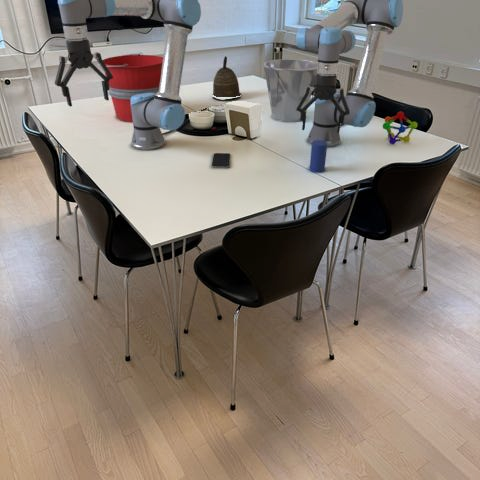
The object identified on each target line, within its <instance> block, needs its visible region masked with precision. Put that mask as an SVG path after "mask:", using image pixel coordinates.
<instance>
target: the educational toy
mask: <svg viewBox="0 0 480 480" xmlns="http://www.w3.org/2000/svg"><path fill="white" fill-rule="evenodd" d="M397 119H399V124H400V125H399V127H398V126H393V125H391V124H392V123H394V122H395V121H396V120H397ZM403 120H404V121H405V122H407V123H408V124H409V125H407V126H404V123H403ZM417 127H418V122H417V121H411V120H410V119H409V118H408V117H406V116H405V113H404V112H403V111H401V110H400V111H398V112H397V114H396V115H394V116H391V117H390V116H386V117H385V118H384V122H383V123H382V129H383V130H386V132H387V138H388V142H389V145H395V144H396V143H397V142H402V141H403V142H404V143H409V142H410V140H411V138H410V136H411V134H412V132H413V131H414V130H415V129H417ZM392 129H393V130H397V131H398V132H396V134H395V133H394V132H392ZM408 129H409V131H408V133H407V134H406V135H404V136H401V134H403V133H405V132H406V130H408ZM399 135H400V136H399Z"/></svg>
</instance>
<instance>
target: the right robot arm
mask: <svg viewBox="0 0 480 480" xmlns="http://www.w3.org/2000/svg"><path fill="white" fill-rule="evenodd" d="M403 17H404V3H403V0H346V1H344V2H343V3H341V4H340V5H339V7H338V8H337V10H334V12H332V13H330V14H329V15H327V16H326V17H325V18H323V19H322V20H320V21H319V22H317V23H315V24H314V25H313V26H311V27H301V28H299V29H298V30H297V31H296V34H295V44H296V47H297V48H298V49H302V50H305V51H307V50H308V51H315V52H318V55H317V62H316V63H317V73H318V74H317V75H316V84H315V85H314V88H313V87H310V86H308V87H307V89H306V93H305V95H304V97H303V98H302V100H301V102H300V103H299V105H298V107H297V109H296V110H297V111H299V112H300V113H301V116H300V122H302V126H301V127H302V128H301V131H305V129H306V119H307V112H305V111H306V110H307V111H308V109H309V108H310V107H311V106H312V105H313V104H314V110H313V111H314V112H313V122H312V126H311V129H310V131H309V133H308V136H307V142H308V143H309V144H310V145H312V142H313V141H316V140H321V141H325V142H327V148H331V147H332V148H333V147H336V146H339V145H340V144H341V135H340V129H341V127H342V126H345V125H346V126H351V127H354V128H365V127H367V126H368V125H369V124H370V123H371V121H372V119H373V117H374V115H375V112H376V108H377V107H376V105H377V103H376V102H375V101H374V98H375V97H374V95H373V94H372V92H373V90H374V85H375V83H376V78H377V76H378V72H379V68H380V66H381V62H382V58H383V55H384V53H385V52H384V51H385V47H386V45H387V41H388V38H389V36H390V35H392V34H393V33H394V30H395V28H399V27H400V26H401V24H402V20H403ZM354 25H365V29H366V31H367V34H366V38H365V41H364V45H363V48H362V52H361V55H360V58H359V59H360V60H359V63H358V66H357V70H356V73H355V77H354V81H353V84H352V88H351V89H350V90H349V91H347V94H346V96H345V89H344V87H341V88H337V78H338V76H337V74H338V69H339V62H340V61H339V60H340V55H343V54H346V53H348V52H350V51H351V50H353V49H354V48H355V46H356V43H357V39H356V35H355V33H354V32H353V31H352V30H349V29H348V30H346V29H345V28H346V27H351V26H354ZM311 92H312V93H313V94H314V93H315V94H314V96H313V98H312V97H311V98H312V99H311V98H310V99H311V100H310V101H309V102H308V103H307V104H306V105H305V106H304V107H303V108H301V106H302V105H303V103H304V101H305V100H306V98H307V96H308V94H309V93H311Z"/></svg>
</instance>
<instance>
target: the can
mask: <svg viewBox="0 0 480 480" xmlns="http://www.w3.org/2000/svg"><path fill="white" fill-rule="evenodd" d="M327 150H328V147H327V142H325V141H321V140H316V141H313V142H312V144H311V148H310V156H309V159H310V160H309V171H310V172H312V173H317V174H318V173H319V174H320V173H323V172H325V169H326V161H327V160H326V159H327Z"/></svg>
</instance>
